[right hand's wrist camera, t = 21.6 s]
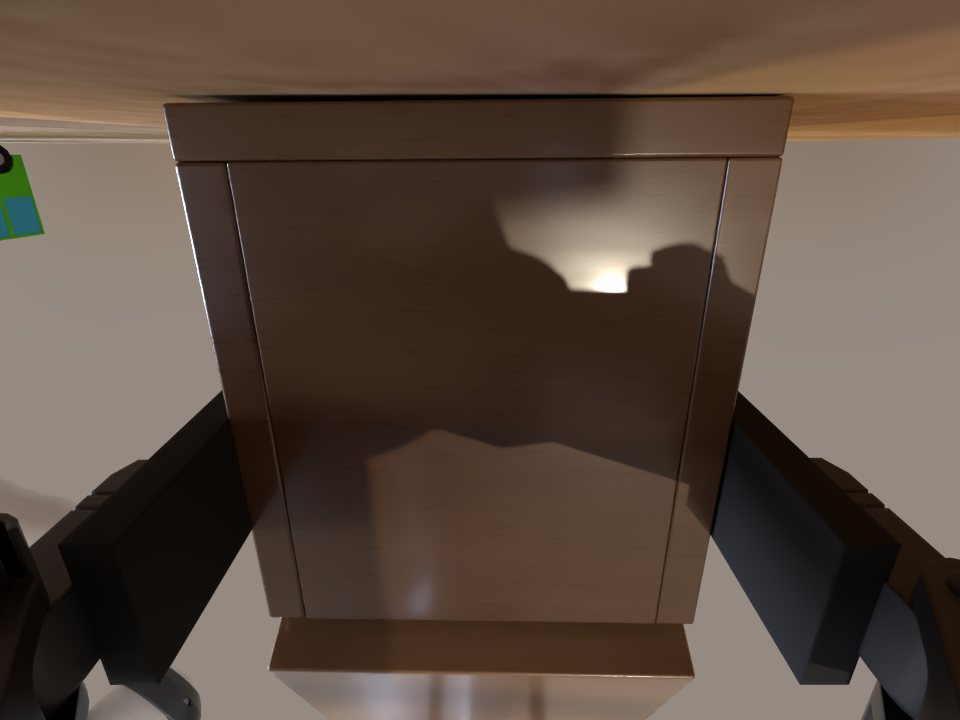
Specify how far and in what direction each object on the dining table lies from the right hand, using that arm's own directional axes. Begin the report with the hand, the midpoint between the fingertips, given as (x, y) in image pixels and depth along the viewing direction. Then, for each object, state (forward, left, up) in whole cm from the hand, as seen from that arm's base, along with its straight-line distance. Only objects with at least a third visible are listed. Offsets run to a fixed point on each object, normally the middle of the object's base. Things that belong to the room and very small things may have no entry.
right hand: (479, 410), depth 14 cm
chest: (+2, -5, -7) cm, 9 cm away
